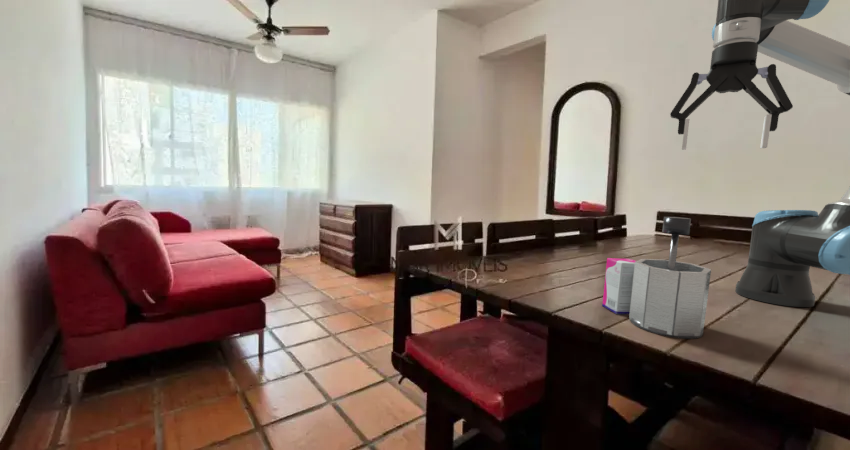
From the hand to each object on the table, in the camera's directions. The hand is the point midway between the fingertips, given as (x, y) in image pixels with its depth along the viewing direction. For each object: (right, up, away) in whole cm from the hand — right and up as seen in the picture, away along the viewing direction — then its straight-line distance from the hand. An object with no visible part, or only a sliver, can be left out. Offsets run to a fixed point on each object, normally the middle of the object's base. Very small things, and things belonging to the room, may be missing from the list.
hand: (721, 148), depth 81 cm
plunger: (-16, -35, -6) cm, 39 cm away
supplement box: (-20, -36, +3) cm, 42 cm away
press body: (-16, -37, -4) cm, 41 cm away
